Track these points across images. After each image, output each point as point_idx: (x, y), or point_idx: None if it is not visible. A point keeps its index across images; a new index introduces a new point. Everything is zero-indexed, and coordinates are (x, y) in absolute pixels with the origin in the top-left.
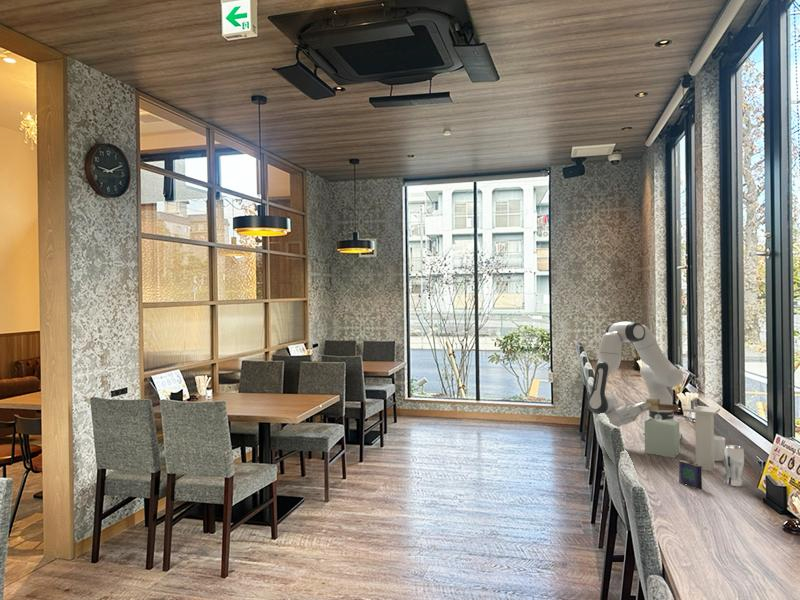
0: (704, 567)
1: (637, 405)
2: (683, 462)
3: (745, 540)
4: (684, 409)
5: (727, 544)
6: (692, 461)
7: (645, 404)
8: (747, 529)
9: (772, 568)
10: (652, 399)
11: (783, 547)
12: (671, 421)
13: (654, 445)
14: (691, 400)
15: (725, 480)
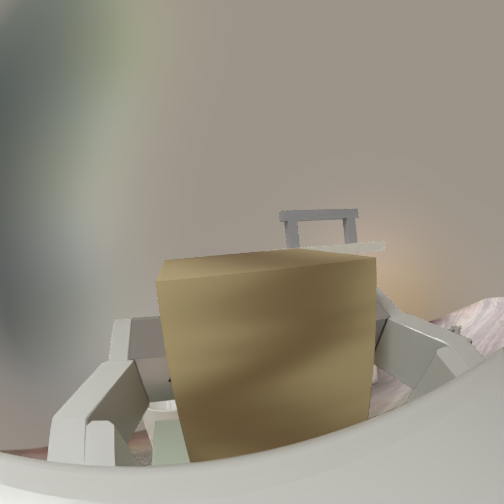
0: None
1: (480, 464)
2: (466, 338)
3: (477, 316)
4: (382, 242)
5: (495, 313)
6: (453, 330)
7: (420, 321)
8: (463, 323)
9: (481, 304)
10: (285, 255)
11: (454, 314)
12: (169, 444)
13: None
14: (354, 209)
15: (375, 377)
